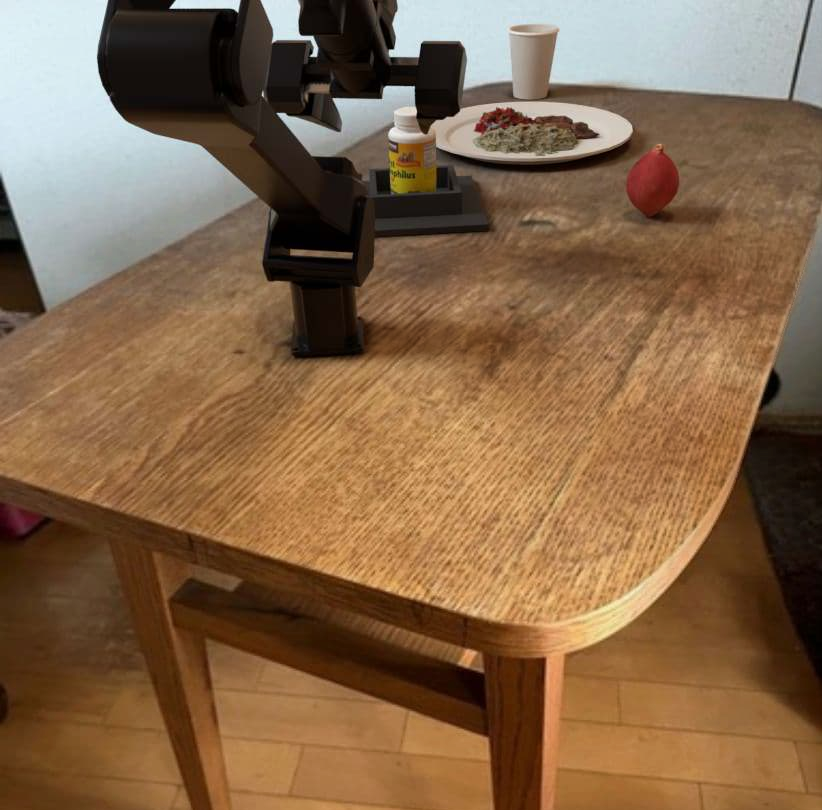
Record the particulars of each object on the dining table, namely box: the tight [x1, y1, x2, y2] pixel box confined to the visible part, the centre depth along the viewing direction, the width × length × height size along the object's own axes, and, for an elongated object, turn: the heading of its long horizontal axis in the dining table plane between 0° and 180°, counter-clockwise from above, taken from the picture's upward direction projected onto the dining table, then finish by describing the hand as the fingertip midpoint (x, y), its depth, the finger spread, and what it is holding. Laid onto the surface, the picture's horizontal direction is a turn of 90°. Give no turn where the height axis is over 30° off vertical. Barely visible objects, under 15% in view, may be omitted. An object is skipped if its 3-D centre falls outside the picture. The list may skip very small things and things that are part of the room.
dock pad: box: [361, 164, 490, 238], centre depth 104 cm, size 18×16×3 cm
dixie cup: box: [507, 23, 560, 100], centre depth 143 cm, size 8×8×10 cm
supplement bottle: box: [387, 106, 437, 194], centre depth 101 cm, size 6×6×10 cm
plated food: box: [431, 101, 633, 166], centre depth 124 cm, size 30×30×3 cm
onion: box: [625, 143, 680, 218], centre depth 98 cm, size 6×6×8 cm
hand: (382, 128), depth 88 cm, fingers open, 9 cm apart
